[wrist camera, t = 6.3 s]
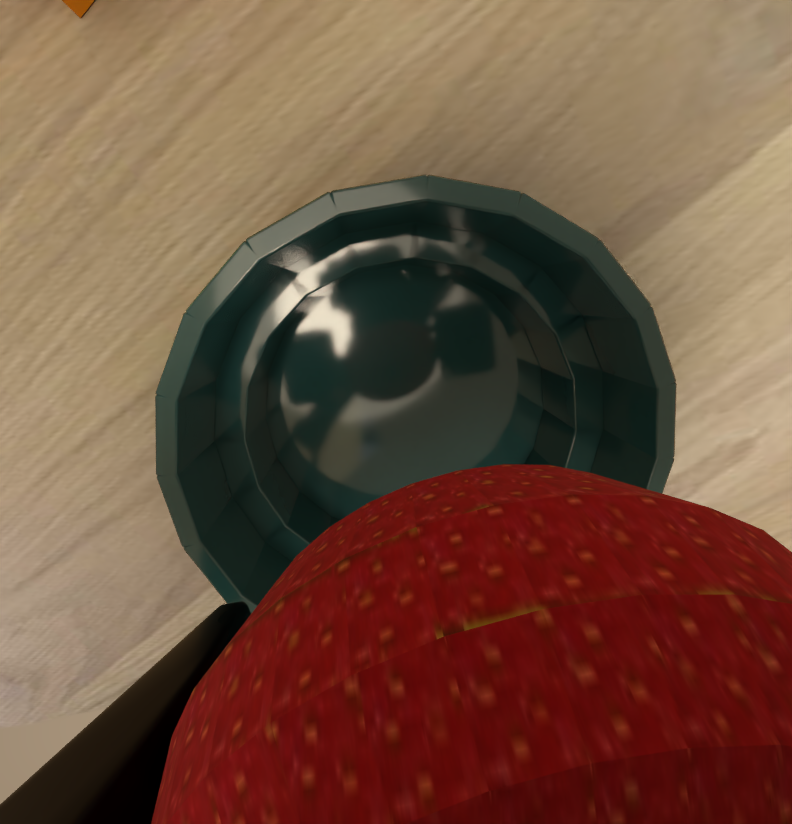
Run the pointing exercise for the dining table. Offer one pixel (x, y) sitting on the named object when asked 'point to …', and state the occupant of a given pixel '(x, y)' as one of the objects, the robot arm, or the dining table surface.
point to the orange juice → (78, 5)
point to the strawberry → (504, 667)
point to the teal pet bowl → (399, 367)
